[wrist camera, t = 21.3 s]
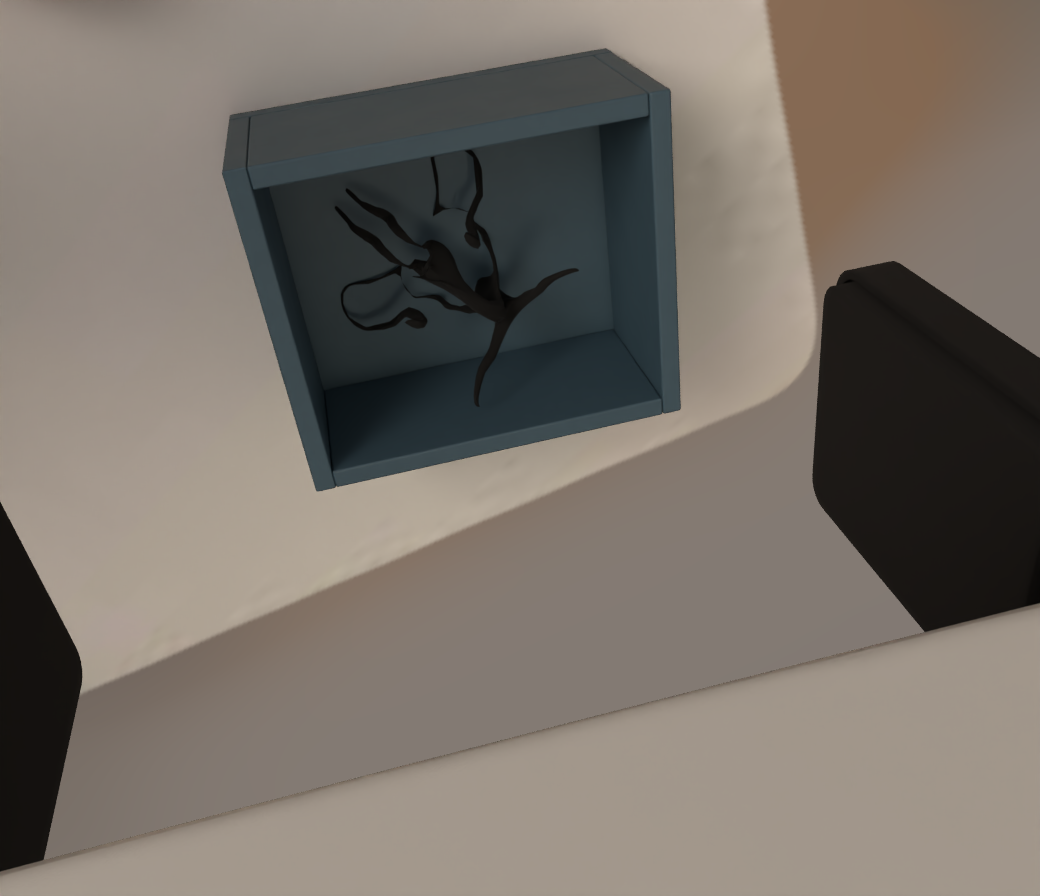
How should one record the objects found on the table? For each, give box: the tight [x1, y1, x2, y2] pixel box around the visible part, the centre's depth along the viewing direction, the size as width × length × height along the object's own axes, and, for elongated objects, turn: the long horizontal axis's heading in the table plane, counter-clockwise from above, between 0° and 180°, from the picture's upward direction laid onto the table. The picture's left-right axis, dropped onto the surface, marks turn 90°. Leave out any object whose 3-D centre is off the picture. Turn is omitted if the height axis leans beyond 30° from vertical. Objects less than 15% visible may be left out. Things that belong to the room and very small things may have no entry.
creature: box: [335, 149, 579, 407], centre depth 34 cm, size 8×5×8 cm
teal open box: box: [222, 48, 681, 491], centre depth 34 cm, size 13×11×7 cm
